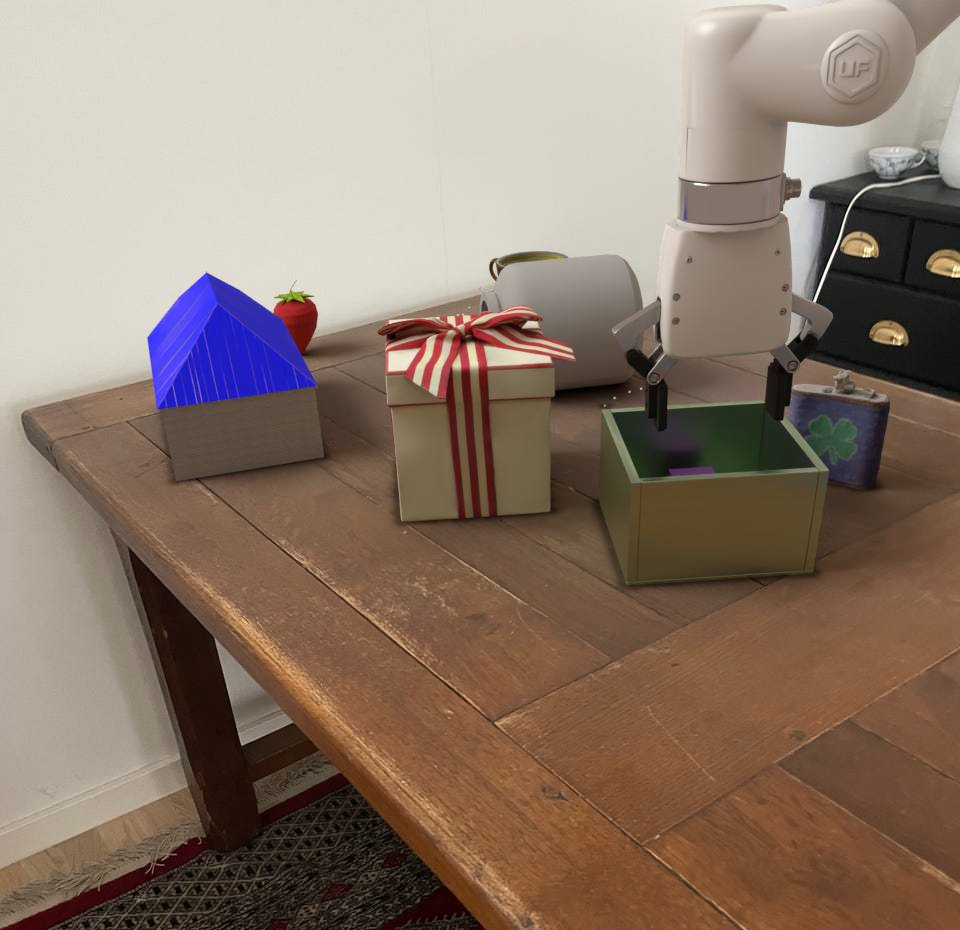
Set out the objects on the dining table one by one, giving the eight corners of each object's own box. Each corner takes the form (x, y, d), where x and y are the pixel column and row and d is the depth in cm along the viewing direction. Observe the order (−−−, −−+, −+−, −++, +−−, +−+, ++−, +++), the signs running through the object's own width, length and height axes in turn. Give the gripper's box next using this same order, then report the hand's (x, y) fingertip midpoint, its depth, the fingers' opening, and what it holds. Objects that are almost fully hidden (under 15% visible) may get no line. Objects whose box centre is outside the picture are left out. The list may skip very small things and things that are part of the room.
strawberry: (324, 345, 142) (315, 271, 137) (321, 363, 136) (311, 286, 130) (282, 347, 142) (270, 273, 136) (276, 365, 136) (264, 289, 130)
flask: (776, 476, 101) (790, 370, 95) (785, 465, 103) (799, 360, 97) (872, 494, 97) (892, 385, 91) (879, 482, 99) (900, 374, 93)
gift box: (403, 545, 93) (385, 359, 83) (386, 463, 108) (369, 297, 98) (586, 524, 95) (589, 339, 85) (544, 447, 110) (543, 282, 100)
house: (161, 403, 126) (132, 271, 117) (292, 384, 130) (272, 255, 121) (174, 484, 106) (139, 333, 97) (327, 459, 110) (307, 311, 101)
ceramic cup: (584, 331, 142) (585, 257, 136) (537, 350, 136) (536, 273, 131) (515, 316, 150) (513, 244, 144) (467, 333, 144) (464, 259, 138)
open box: (760, 493, 98) (772, 398, 93) (813, 575, 85) (829, 470, 80) (599, 504, 98) (601, 409, 93) (626, 587, 85) (631, 482, 80)
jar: (653, 379, 112) (424, 358, 110) (623, 439, 126) (420, 422, 124) (654, 230, 116) (435, 208, 115) (626, 304, 131) (430, 286, 129)
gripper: (827, 182, 79) (805, 395, 88) (604, 201, 79) (605, 413, 88) (863, 200, 73) (834, 428, 82) (621, 221, 73) (620, 447, 82)
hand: (716, 420), depth 85 cm, fingers open, 9 cm apart
